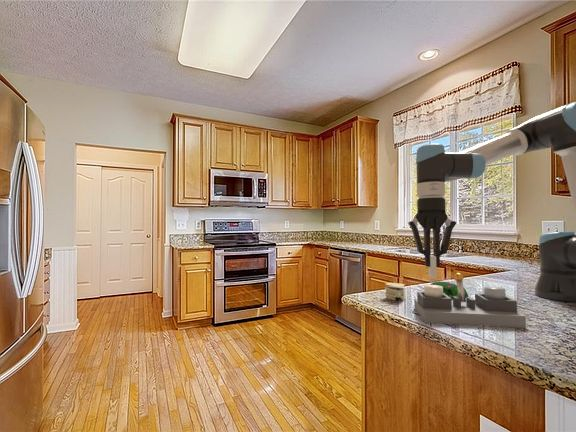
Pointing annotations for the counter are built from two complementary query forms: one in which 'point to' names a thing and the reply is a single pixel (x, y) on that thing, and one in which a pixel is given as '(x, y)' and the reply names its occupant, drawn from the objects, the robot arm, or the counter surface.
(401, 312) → the counter surface
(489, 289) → the grey blue button
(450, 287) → the snack package
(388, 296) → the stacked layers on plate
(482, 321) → the control panel
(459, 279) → the toggle lever
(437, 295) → the white button
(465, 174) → the robot arm
